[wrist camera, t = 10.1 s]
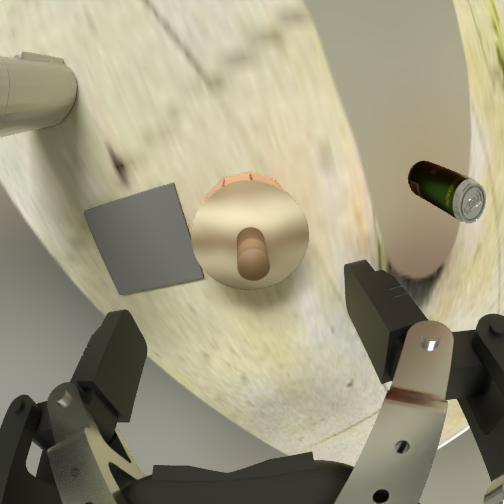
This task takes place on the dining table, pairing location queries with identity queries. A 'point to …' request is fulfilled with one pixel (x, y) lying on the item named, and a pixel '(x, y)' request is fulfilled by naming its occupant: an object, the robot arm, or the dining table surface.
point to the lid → (249, 235)
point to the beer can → (448, 190)
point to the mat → (144, 240)
